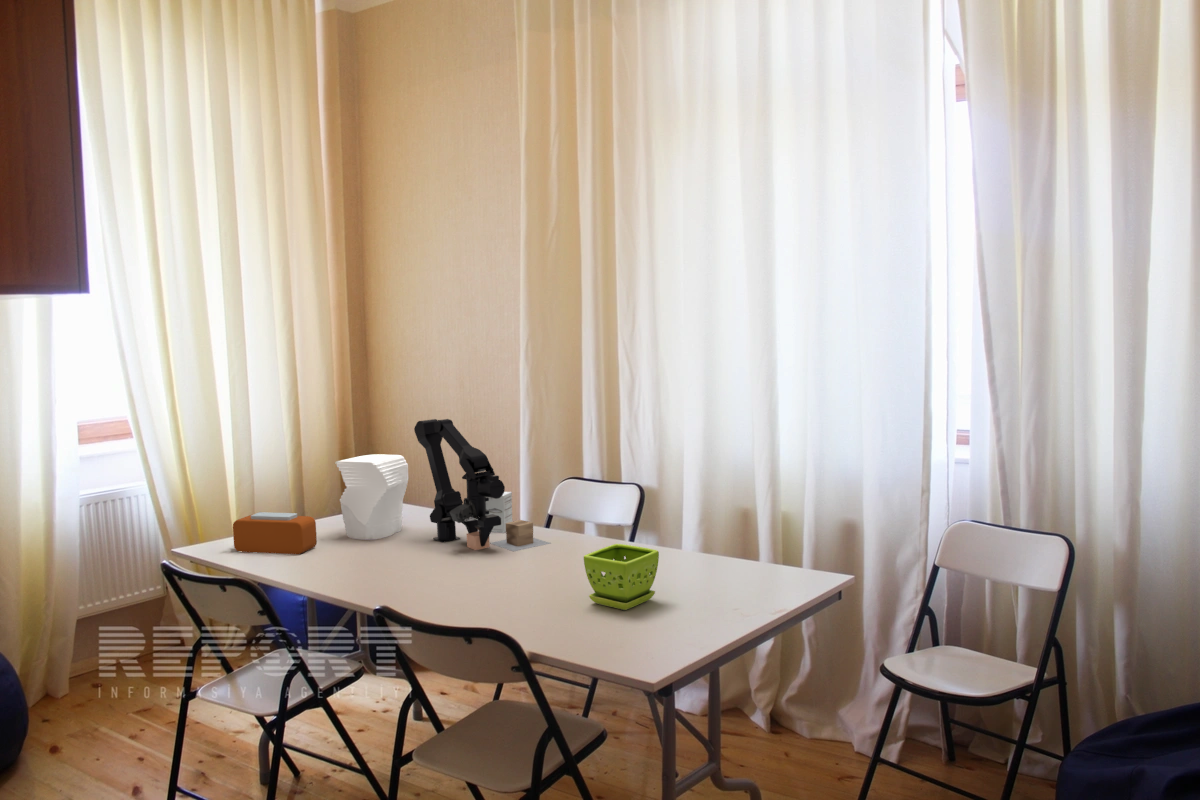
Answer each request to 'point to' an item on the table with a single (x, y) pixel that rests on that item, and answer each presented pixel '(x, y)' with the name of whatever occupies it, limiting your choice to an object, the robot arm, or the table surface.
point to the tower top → (519, 527)
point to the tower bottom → (519, 539)
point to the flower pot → (621, 575)
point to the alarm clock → (275, 533)
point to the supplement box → (501, 510)
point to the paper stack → (373, 495)
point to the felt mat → (514, 548)
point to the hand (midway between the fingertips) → (478, 544)
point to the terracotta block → (475, 541)
